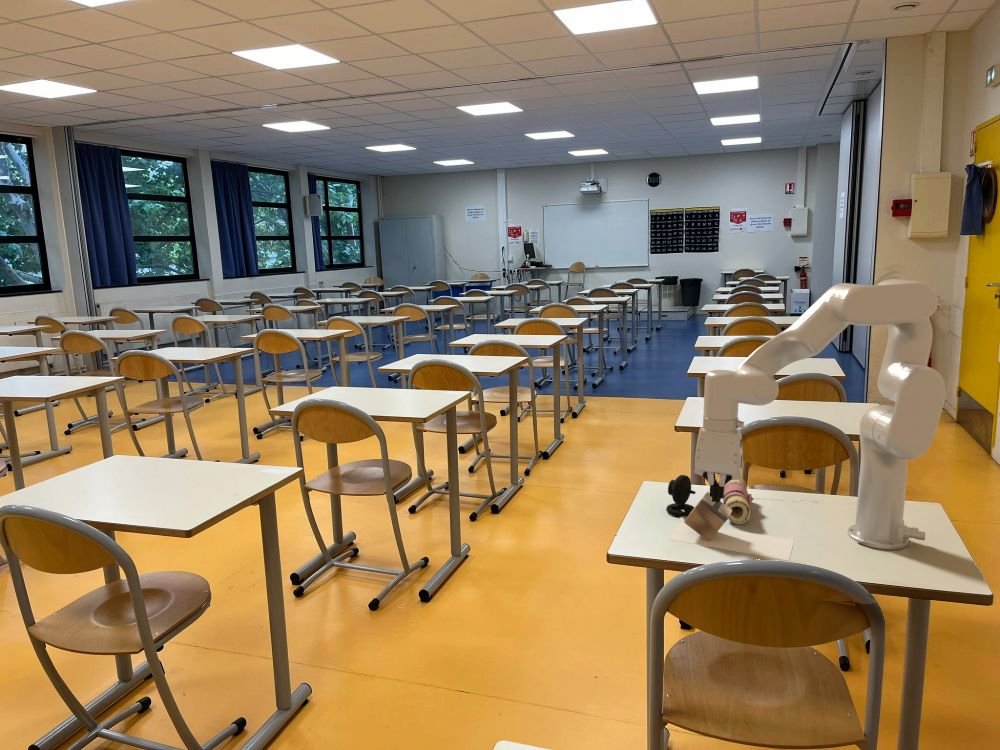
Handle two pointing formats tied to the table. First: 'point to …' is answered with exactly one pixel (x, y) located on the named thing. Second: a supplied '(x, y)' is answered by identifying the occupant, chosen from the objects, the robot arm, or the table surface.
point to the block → (708, 517)
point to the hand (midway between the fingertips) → (716, 500)
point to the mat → (738, 542)
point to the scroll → (737, 501)
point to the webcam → (680, 496)
